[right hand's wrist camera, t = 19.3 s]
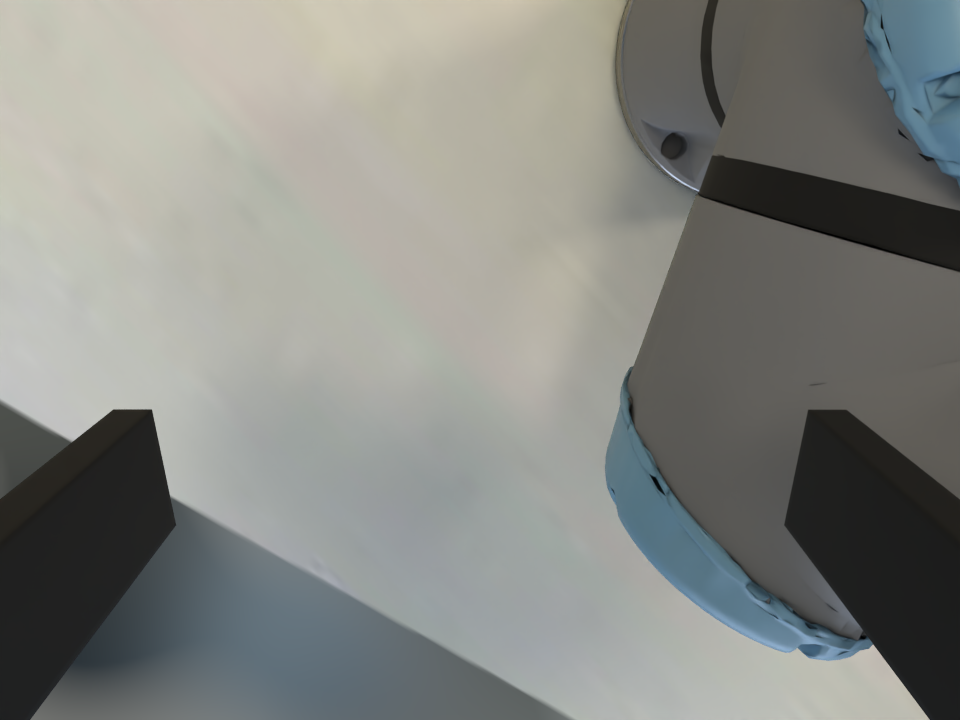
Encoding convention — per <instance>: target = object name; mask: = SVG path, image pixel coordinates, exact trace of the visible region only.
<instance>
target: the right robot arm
mask: <svg viewBox="0 0 960 720" xmlns="http://www.w3.org/2000/svg"><path fill="white" fill-rule="evenodd" d="M616 81H617V89H618V95H619V100H620V104H621V108H622V112H623V114H624V117H625V120H626V123H627V125H628V127H629V129H630V131H631V133H632V135H633V137H634V139H635V141H636V142H637V144H638V145H639V147H640V148H641V150H642V151H643V152H644V154H645V155H646V156H647V158H648V159H649V160H650V161H651V162H652V163H653V164H654V165H655V166H656V167H657V168H658V169H660V170H661V171H662V172H663V173H664V174H666V175H667V176H668V177H670V178H671V179H673V180H674V181H676V182H678V183H680V184H682V185H683V186H685V187H687V188H690V189H692V190H695V191H698V194H699V195H698V194H697V195H696V197H695V200H694V202H693V205H692V208H691V211H690V213H689V216H688V219H687V222H686V224H685V227H684V230H683V233H682V235H681V238H680V241H679V244H678V246H677V249H676V252H675V255H674V257H673V260H672V263H671V266H670V268H669V271H668V274H667V277H666V279H665V282H664V285H663V288H662V290H661V293H660V296H659V299H658V302H657V304H656V307H655V310H654V313H653V315H652V318H651V321H650V324H649V326H648V329H647V332H646V335H645V337H644V340H643V343H642V346H641V348H640V351H639V354H638V356H637V359H636V362H635V364H634V366H633V367H630V368H629V370H628V372H627V374H626V375H625V378H624V381H623V384H622V387H621V394H620V408H619V411H618V415H617V418H616V422H615V425H614V429H613V432H612V436H611V439H610V442H609V445H608V448H607V453H606V463H605V473H606V482H607V487H608V490H609V492H610V495H611V497H612V499H613V501H614V502H615V504H616V505H617V510H618V516H619V518H620V520H621V522H622V524H623V526H624V528H625V529H626V531H627V532H628V534H629V535H630V537H631V538H632V540H633V541H634V542H635V544H636V545H637V547H638V548H639V549H640V550H641V552H642V553H643V554H644V555H645V557H646V558H647V559H648V560H649V561H650V562H651V564H652V565H653V566H654V567H655V568H656V569H657V570H658V571H659V572H660V573H661V574H662V575H663V576H664V577H665V578H666V579H667V580H668V581H669V582H670V583H671V584H672V585H674V586H675V587H676V588H677V589H678V590H679V591H680V592H681V593H683V594H684V595H685V596H686V597H687V598H689V599H690V600H691V601H692V602H694V603H695V604H696V605H698V606H699V607H700V608H702V609H703V610H704V611H706V612H707V613H708V614H710V615H711V616H713V617H714V618H716V619H717V620H719V621H720V622H722V623H724V624H725V625H727V626H728V627H730V628H732V629H733V630H735V631H737V632H739V633H740V634H742V635H744V636H746V637H748V638H750V639H752V640H754V641H757V642H759V643H761V644H763V645H765V646H768V647H770V648H773V649H775V650H779V651H782V652H785V653H787V652H792V651H793V650H795V649H796V648H798V649H799V650H800V651H802V652H803V653H804V654H805V655H806V656H807V657H808V658H811V659H819V660H827V661H830V660H840V659H844V658H848V657H851V656H852V655H854V654H855V653H857V652H858V651H860V650H864V649H869V648H870V647H871V645H873V644H874V646H875V647H876V648H877V650H878V651H879V652H880V654H881V655H882V656H883V658H884V659H885V660H886V662H887V663H888V664H889V666H890V667H891V668H892V670H893V671H894V672H895V674H896V675H897V676H898V678H899V679H900V680H901V682H902V683H903V684H904V686H905V687H906V688H907V690H908V691H909V692H910V694H911V695H912V696H913V698H914V699H915V700H916V702H917V703H918V704H919V706H920V707H921V708H922V710H923V711H924V712H925V714H926V715H927V716H928V718H929V719H930V720H960V0H628V2H627V5H626V7H625V11H624V14H623V18H622V21H621V25H620V30H619V35H618V42H617V50H616ZM175 526H176V523H175V518H174V513H173V509H172V504H171V499H170V494H169V489H168V485H167V480H166V475H165V470H164V465H163V461H162V456H161V451H160V446H159V441H158V437H157V432H156V427H155V422H154V417H153V413H152V410H112V411H111V412H110V413H109V414H107V415H106V416H105V417H104V418H102V419H101V420H100V421H98V422H97V423H96V424H95V425H93V426H92V427H91V428H90V429H88V430H87V431H86V432H85V433H83V434H82V435H81V436H80V437H78V438H77V439H76V440H74V441H73V442H72V443H71V444H69V445H68V446H67V447H66V448H64V449H63V450H62V451H61V452H59V453H58V454H57V455H56V456H54V457H53V458H52V459H50V460H49V461H48V462H47V463H45V464H44V465H43V466H42V467H40V468H39V469H38V470H37V471H35V472H34V473H33V474H31V475H30V476H29V477H28V478H26V479H25V480H24V481H23V482H21V483H20V484H19V485H18V486H16V487H15V488H14V489H13V490H11V491H10V492H9V493H8V494H6V495H5V496H4V497H2V498H1V499H0V720H30V719H31V718H32V716H33V715H34V714H35V712H36V711H37V710H38V708H39V707H40V706H41V704H42V703H43V702H44V700H45V699H46V698H47V696H48V695H49V694H50V692H51V691H52V690H53V688H54V687H55V686H56V684H57V683H58V682H59V680H60V679H61V678H62V676H63V675H64V674H65V672H66V671H67V670H68V668H69V667H70V666H71V664H72V663H73V662H74V660H75V659H76V658H77V656H78V655H79V654H80V652H81V651H82V650H83V648H84V647H85V646H86V644H87V643H88V642H89V640H90V639H91V638H92V636H93V635H94V634H95V632H96V631H97V630H98V628H99V627H100V626H101V624H102V623H103V622H104V620H105V619H106V618H107V616H108V615H109V614H110V612H111V611H112V610H113V608H114V607H115V606H116V604H117V603H118V602H119V600H120V599H121V598H122V596H123V595H124V594H125V592H126V591H127V590H128V588H129V587H130V586H131V584H132V583H133V582H134V580H135V579H136V578H137V576H138V575H139V574H140V572H141V571H142V570H143V568H144V567H145V566H146V564H147V563H148V562H149V560H150V559H151V558H152V556H153V555H154V554H155V552H156V551H157V550H158V548H159V547H160V546H161V544H162V543H163V542H164V540H165V539H166V538H167V536H168V535H169V534H170V532H171V531H172V530H173V528H174V527H175Z"/></svg>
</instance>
